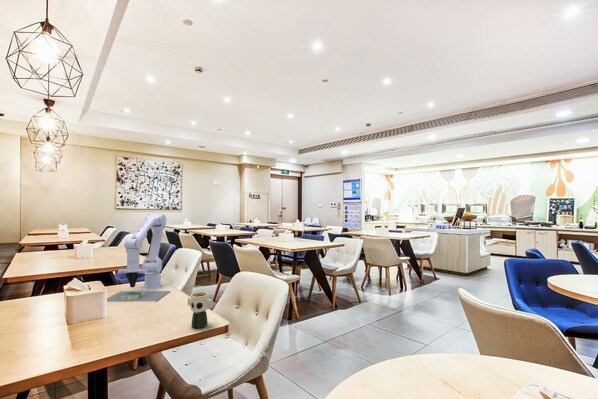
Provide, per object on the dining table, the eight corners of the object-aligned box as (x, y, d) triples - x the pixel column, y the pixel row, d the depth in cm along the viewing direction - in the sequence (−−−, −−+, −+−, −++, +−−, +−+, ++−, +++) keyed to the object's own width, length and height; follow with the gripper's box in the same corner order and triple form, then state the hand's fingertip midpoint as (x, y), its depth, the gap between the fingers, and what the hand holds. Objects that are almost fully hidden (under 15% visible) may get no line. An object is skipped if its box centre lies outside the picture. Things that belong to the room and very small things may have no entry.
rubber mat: (120, 292, 168) (120, 291, 168) (170, 291, 168) (170, 291, 168) (100, 302, 150) (100, 301, 150) (156, 302, 150) (156, 301, 150)
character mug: (182, 328, 119) (182, 295, 119) (192, 321, 126) (192, 290, 126) (207, 330, 116) (207, 297, 117) (215, 323, 123) (216, 292, 124)
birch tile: (130, 291, 161) (144, 291, 162) (130, 294, 161) (144, 294, 161) (120, 296, 152) (135, 296, 153) (120, 299, 152) (135, 299, 152)
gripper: (114, 262, 153) (114, 289, 153) (143, 262, 153) (142, 288, 153) (122, 260, 160) (122, 285, 160) (149, 260, 160) (149, 285, 160)
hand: (132, 286), depth 157 cm, fingers closed
